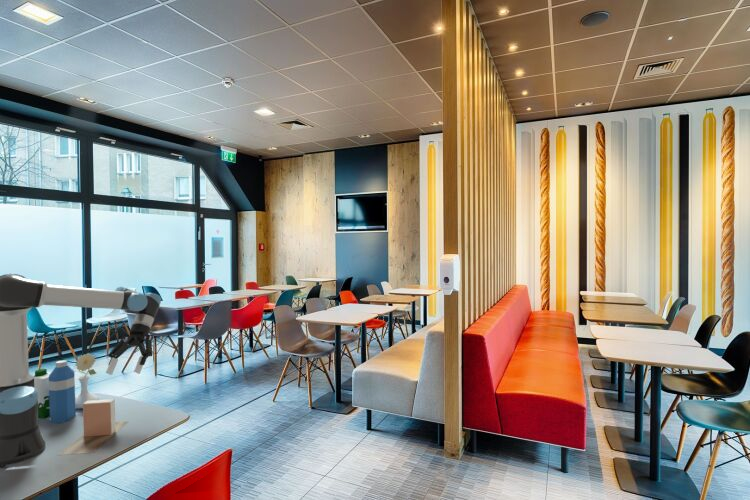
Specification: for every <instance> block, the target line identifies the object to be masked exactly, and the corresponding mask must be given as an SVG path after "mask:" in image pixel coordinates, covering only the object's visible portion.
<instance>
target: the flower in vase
mask: <svg viewBox="0 0 750 500" xmlns="http://www.w3.org/2000/svg"><path fill="white" fill-rule="evenodd" d="M95 357H96V356H95V355H93V354H91V353H86V354H85V353H84V354H83V355H80V357H79V358H77V361H76V362H75V365H76V369H77V371H78V372H79V373H81V374H84V375H80V376H77V378H76V379H78V381H79V384H80V387H81V388H80V392H79V394H78V395H77V396H75V410H76V409H83V403H85V402H86V401H90V400H100V398H99V396H98V395H95V394H93V393H91V392H89V390H88V381H89V379H90V378H91V376H93V375H96V374H97V372H96V370H95V369H93V368H92V367H93V366H94V364H95V363H96V358H95ZM87 370H88V371H87ZM85 371H86V372H85Z"/></svg>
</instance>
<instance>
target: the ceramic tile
mask: <svg viewBox="0 0 750 500" xmlns="http://www.w3.org/2000/svg"><path fill="white" fill-rule="evenodd" d="M82 414H83V415H82V417H83V418H82V419H83V420H82V421H83V435H84V437H87V436H100V435H112V434H113V433H114V432H115V422H116V403H115V398H110V399H108V398H107V399H106V398H105V399H99V400H90V401H86V402H85V403H83V408H82Z"/></svg>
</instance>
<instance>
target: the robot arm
mask: <svg viewBox="0 0 750 500" xmlns="http://www.w3.org/2000/svg"><path fill="white" fill-rule="evenodd" d="M161 302H162V297H161V296H160V295H159V294H157V293H153V292H147V293H145V294H143V293H141V292H137V291H134V290H132V289H129V288H127V287H124V286H118V287H116V288H115V290H114V289H113V290H111V289H99V288H89V287H88V288H87V287H78V286H66V285H64V286H63V285H54V284H47V283H46V281H42V280H41V281H39V280H32V279H28V278H26V277H25V276H23V275H21V274H18V273H9V274H8V273H6V274H2V275H0V468H5V467H6V466H8V465H14V464H17V463H20V462H24V461H27V460H30V459H31V458H34V457H37V456H38V455H39V454H41V453H42V452H44V450H46V441H45V439H44V437H43V436H42V433H41V431H40V428H39V427H40V426H39V423H40V422H39V418H38V393H37V390H36V389H35V388H34V375H32V374H30V369H29V368H30V367H29V343H28V342H29V341H28V339H29V337H28V312H29V311H30V310H31V309H32V308H41V307H42V306H53V307H54V306H55V307H57V306H58V307H73V308H74V307H75V308H76V307H77V308H91V309H92V308H94V309H110V310H112V309H113V310H123V311H125V310H126V311H132V312H137V313H136V315H135V318H134V320H133V322H132V324H131V327H130V330H129V335H128V336H125V335H123V336H122V337H121V339H120V340H119V342H117V344H116V345H115V346H114V347H113V348H112V350H111V351H110V352H109V353H108V354H107V356H108V357H109V358H110V360H109V362H108V366H107V369H106V372H105V373H106V374H108V375H110V376H111V375H113V373H114V372H115V369H116V366H117V364H118V361H119V358H120V357H121V356H122V355H123V354H124V353H125V352H127V351H128V350H129V349H131V348H135V347H137V348H138V349H139V351H140V355H139V358H138V361H137V362H136V365H135V368H134V371H133V373H136V374H139V375H140V374H141V371H142V369H143V366H145V364H146V362H147V359H148V358H149V357H153V345H152V342H153V341H152V340H153V336H152V335H150V334H149V333H150V331H151V328H152V326H153V323H154V321H155V318H156V315H157V313H158V311H159V308H160V306H161Z"/></svg>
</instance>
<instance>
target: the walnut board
mask: <svg viewBox="0 0 750 500" xmlns="http://www.w3.org/2000/svg"><path fill="white" fill-rule="evenodd" d="M128 423H129V421H115V432H114V433H113V434H112V435H100V436H87V437H84V434H83V435H82V436H80V437H78V439H77V440H75V441H74V442H73V443H71V444H70V445H69V446H68V447H66V448H65V449H64V450H63V451H61V452H60V453H59V454H58V456H66V455H67V456H68V455H81V454H95V453H96V452H97V451H98V450H99V449H100V448H101V447H103V445H104V444H106V443H107V442H108V441H109V440H110V439H111V438H112V437H113V436H115V434H116V433H118V432H119V431H120V430H121V429H122V428H123V427H124V426H125V425H127V424H128Z"/></svg>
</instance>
